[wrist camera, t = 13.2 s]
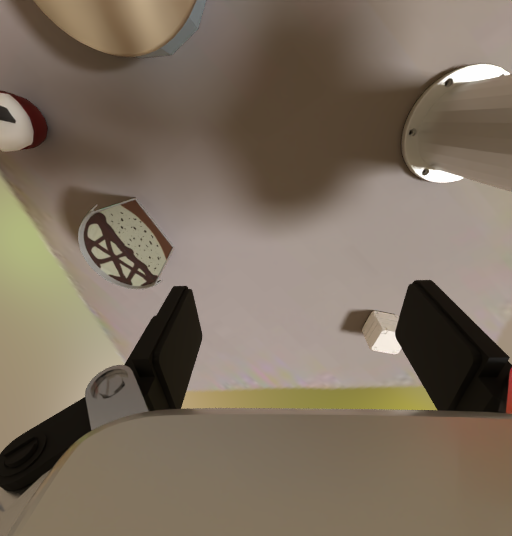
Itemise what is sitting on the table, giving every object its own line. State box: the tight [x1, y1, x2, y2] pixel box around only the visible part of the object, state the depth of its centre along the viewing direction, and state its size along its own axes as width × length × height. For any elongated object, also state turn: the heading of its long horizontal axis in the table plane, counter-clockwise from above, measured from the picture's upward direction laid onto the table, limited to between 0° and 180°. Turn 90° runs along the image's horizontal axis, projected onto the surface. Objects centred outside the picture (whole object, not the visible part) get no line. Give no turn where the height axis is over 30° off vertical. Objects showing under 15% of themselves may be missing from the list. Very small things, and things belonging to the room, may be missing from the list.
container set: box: [362, 311, 402, 354], centre depth 46 cm, size 20×5×6 cm, turn 79°
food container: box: [78, 198, 174, 289], centre depth 36 cm, size 12×6×10 cm, turn 29°
